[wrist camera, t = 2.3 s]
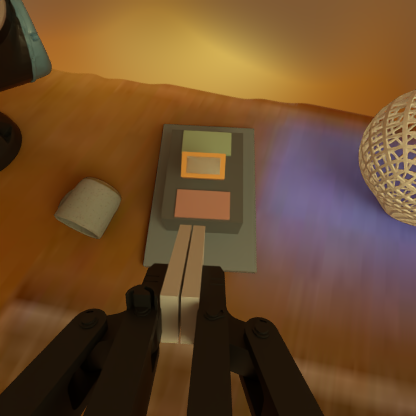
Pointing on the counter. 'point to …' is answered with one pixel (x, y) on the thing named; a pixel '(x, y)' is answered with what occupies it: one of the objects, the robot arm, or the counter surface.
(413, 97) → the heart
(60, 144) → the counter surface
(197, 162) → the breaker lever
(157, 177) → the breaker box
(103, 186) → the ceramic mug
